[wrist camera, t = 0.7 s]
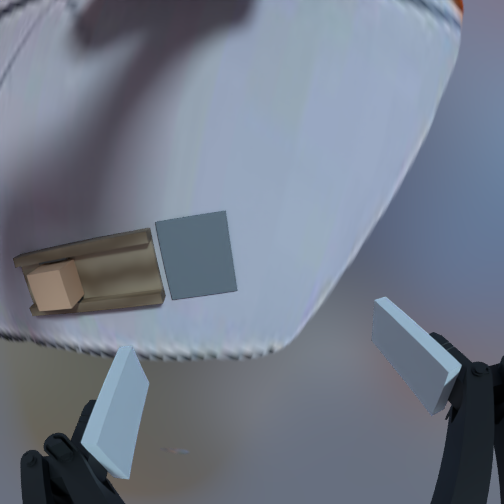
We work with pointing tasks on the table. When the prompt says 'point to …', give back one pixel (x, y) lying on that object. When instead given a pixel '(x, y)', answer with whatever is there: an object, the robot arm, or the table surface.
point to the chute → (105, 271)
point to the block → (56, 285)
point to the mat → (197, 255)
